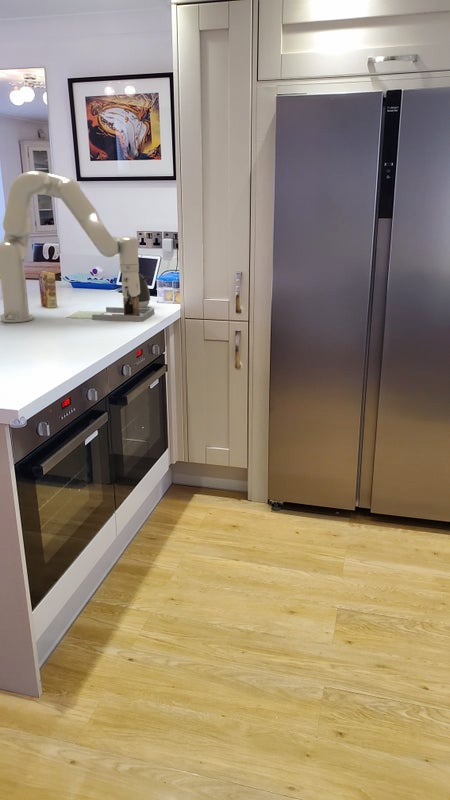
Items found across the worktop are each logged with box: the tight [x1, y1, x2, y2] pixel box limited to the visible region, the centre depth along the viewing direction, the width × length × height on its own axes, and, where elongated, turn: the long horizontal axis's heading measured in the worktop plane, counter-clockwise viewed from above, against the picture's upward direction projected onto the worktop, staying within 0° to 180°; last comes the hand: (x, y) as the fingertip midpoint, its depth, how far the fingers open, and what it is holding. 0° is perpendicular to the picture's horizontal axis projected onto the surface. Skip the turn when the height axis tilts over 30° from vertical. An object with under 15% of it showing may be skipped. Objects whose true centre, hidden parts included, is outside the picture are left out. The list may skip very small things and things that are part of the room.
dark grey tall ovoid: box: [128, 272, 151, 308], centre depth 277 cm, size 10×10×15 cm
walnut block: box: [111, 297, 140, 316], centre depth 259 cm, size 5×11×8 cm, turn 80°
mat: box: [65, 310, 107, 320], centre depth 263 cm, size 14×12×1 cm
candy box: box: [38, 270, 58, 309], centre depth 280 cm, size 9×4×15 cm, turn 39°
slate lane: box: [91, 306, 155, 322], centre depth 260 cm, size 17×21×2 cm
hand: (131, 311), depth 259 cm, fingers open, 5 cm apart
